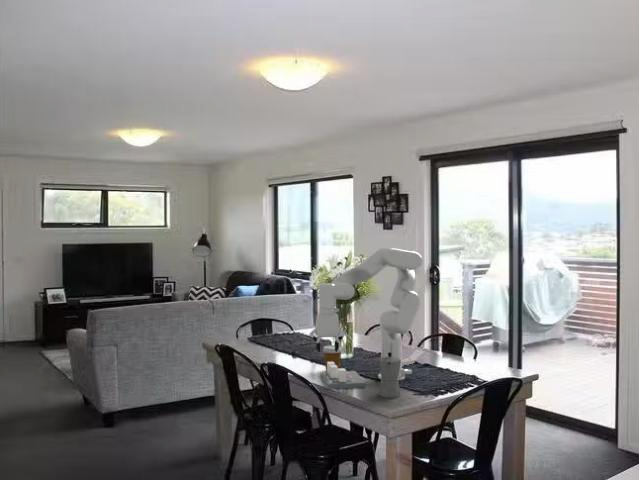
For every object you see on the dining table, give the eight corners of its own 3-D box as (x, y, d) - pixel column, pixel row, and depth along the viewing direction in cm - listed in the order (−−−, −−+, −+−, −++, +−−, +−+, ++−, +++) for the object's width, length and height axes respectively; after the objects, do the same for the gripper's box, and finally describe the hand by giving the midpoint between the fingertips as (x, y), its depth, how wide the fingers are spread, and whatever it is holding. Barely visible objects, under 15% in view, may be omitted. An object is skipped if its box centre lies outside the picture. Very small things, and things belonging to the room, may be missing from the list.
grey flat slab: (355, 375, 290) (355, 370, 290) (365, 387, 268) (365, 382, 268) (320, 376, 287) (320, 372, 287) (327, 388, 266) (327, 384, 266)
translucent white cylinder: (425, 351, 318) (391, 357, 302) (425, 362, 318) (391, 369, 302) (416, 349, 323) (382, 355, 307) (416, 360, 323) (382, 367, 307)
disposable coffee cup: (325, 374, 292) (325, 349, 291) (320, 369, 301) (320, 345, 300) (344, 373, 294) (344, 348, 294) (338, 368, 303) (338, 344, 303)
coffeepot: (400, 399, 249) (400, 356, 249) (377, 398, 251) (377, 355, 250) (401, 389, 264) (401, 348, 264) (379, 388, 266) (379, 347, 265)
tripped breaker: (344, 379, 273) (344, 368, 273) (346, 381, 269) (346, 370, 268) (337, 379, 273) (337, 368, 272) (339, 382, 268) (339, 370, 268)
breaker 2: (336, 375, 280) (336, 364, 279) (337, 378, 275) (337, 367, 275) (329, 376, 279) (329, 365, 279) (331, 378, 275) (331, 367, 275)
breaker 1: (333, 372, 286) (333, 361, 286) (335, 374, 282) (335, 363, 282) (327, 372, 286) (327, 361, 286) (328, 374, 282) (328, 363, 281)
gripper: (345, 309, 274) (345, 349, 274) (306, 310, 271) (306, 350, 272) (348, 312, 266) (348, 352, 267) (309, 312, 264) (309, 353, 264)
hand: (327, 350), depth 269 cm, fingers open, 7 cm apart
